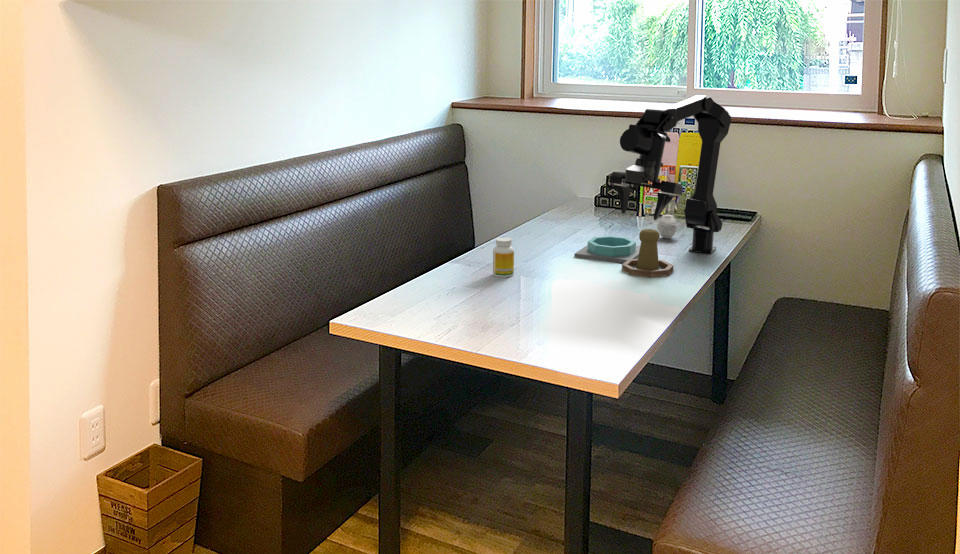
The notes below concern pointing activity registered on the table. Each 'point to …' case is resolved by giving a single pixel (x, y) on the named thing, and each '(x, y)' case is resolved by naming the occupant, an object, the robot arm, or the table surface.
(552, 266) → the table surface
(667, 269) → the walnut ring
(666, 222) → the frog figurine
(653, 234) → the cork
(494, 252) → the supplement bottle
